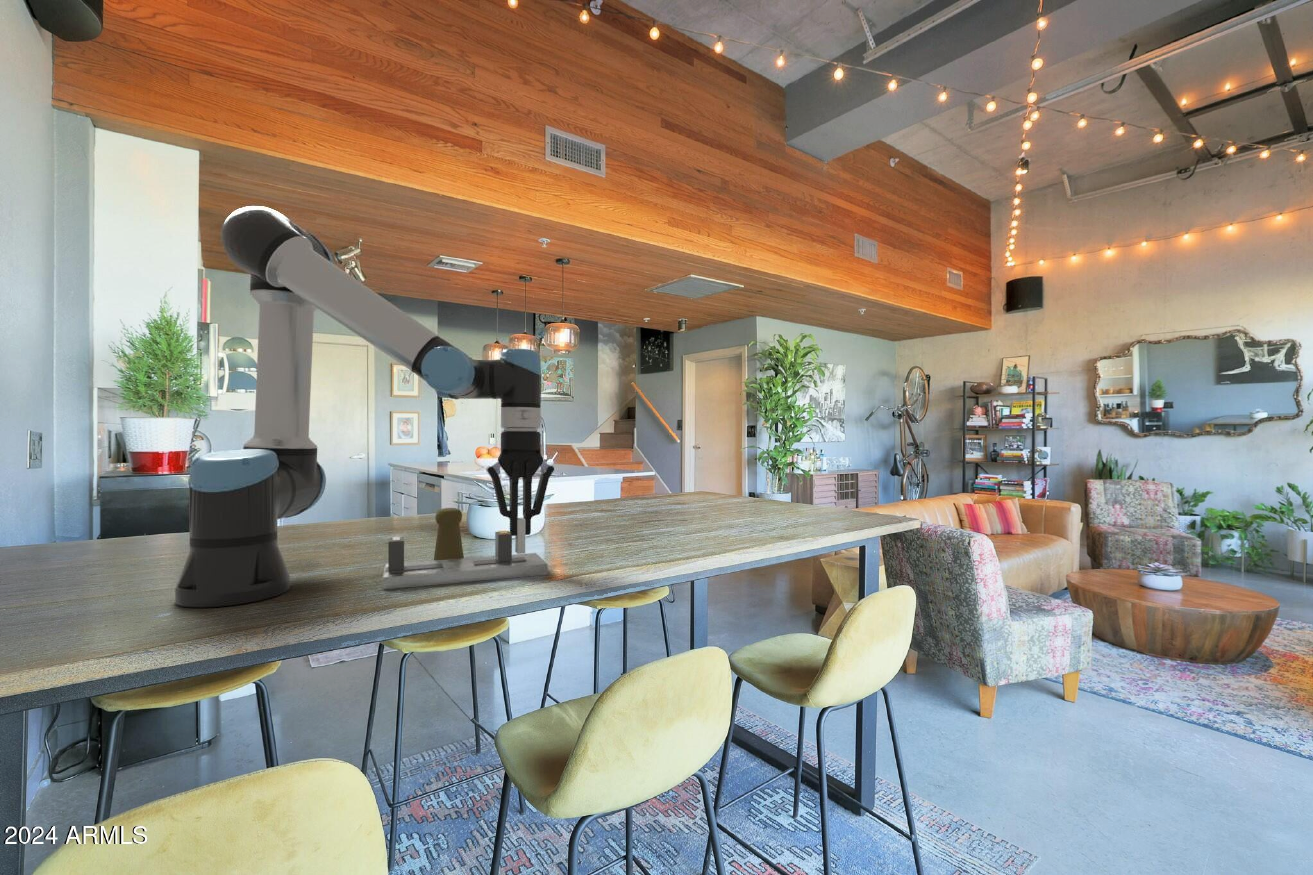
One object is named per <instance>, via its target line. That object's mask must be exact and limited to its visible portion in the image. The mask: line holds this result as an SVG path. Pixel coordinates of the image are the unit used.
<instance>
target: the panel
mask: <svg viewBox="0 0 1313 875" xmlns="http://www.w3.org/2000/svg"><path fill="white" fill-rule="evenodd" d="M548 567H549V565H548V563H547V562H546V561H545V560H544V559H543V558H542V557H541V556H539V554H538V553H537V552H531V553H522V554H517V553H516V554H512V561H502V562H498V561H497V559H496V558H495V555H491V556H479V557H477V556H475V557H464V558H463V559H449V560H436V561H434V560H425V561H411V562H404V569H401V570H389V571H388V563H385V564H384V567H383V568H384V570H383V575H382V590H392V589H394V590H395V589H405V588H413V587H424V586H425V587H427V586H437V585H448V584H459V583H469V582H481V581H492V580H493V581H494V580H501V579H513V578H526V577H537V576H545V575H549V574H548V572H549V571H548V569H549V568H548Z"/></svg>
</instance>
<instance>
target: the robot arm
mask: <svg viewBox="0 0 1313 875" xmlns="http://www.w3.org/2000/svg"><path fill="white" fill-rule="evenodd" d="M220 231H221V233H220V239H221V244H222V245H221V246H222V248H223V251H224V252H225V254H226V255H227V257H228V258H229V259H230V261H231V262H232V263H233V264H234V265H235V266H237V267H238V268H240V269H241V270H242V271H244V272H246V273H248V274H249V275H250V278H249V280H250V284H249V295H250V296H251V297H252V298H253V299H254V300H255V301H256V302H257V303H258V305H259V308H258V310H259V311H258V335H257V341H258V342H257V359H256V360H257V362H256V380H255V381H256V382H255V383H256V384H255V404H254V405H255V406H254V407H255V409H254V431H253V432H254V434H253V436H252V437H251V438H249V439H248V440H247V441H246V442H245V443H244V444H243V447H242V448H243V449H242V448H241V449H239V448H238V449H229V450H218V451H212V452H206V453H203V454H200V455H198V456H196V457H195V458H194V459H192V461H191V462H190V468H189V475H188V476H189V477H188V478H187V484H188V494H189V496H188V500H189V501H188V506H189V508H188V509H189V510H188V511H189V520H188V521H189V552H188V554H187V557H186V560H185V563H184V565H183V568H182V570H181V572H180V574H179V575H180V576H179V578H178V580H177V583H176V585H175V589H174V599H175V600H174V603H175V604H176V605H177V606H180V607H186V608H215V607H218V608H219V607H224V606H225V607H227V606H228V607H229V606H235V605H236V606H237V605H243V604H248V603H252V602H253V603H254V602H257V601H258V602H259V601H262V600H266V599H267V600H268V599H271V598H274V597H277V596H280V595H283V594H284V593H286V592H287V591H289V590H290V588H291V587H290V586H291V581H290V580H291V576H290V572H289V570H288V567H287V565H286V562H285V559H284V557H283V554H282V551H281V550H280V547H279V543H278V531H279V530H278V527H279V526H278V522H279V520H280V519H287V518H291V517H292V518H293V517H296V516H298V515H300V514H302V513H304V512H306V511H308V510H309V509H311V508H313V507H314V506H315V505H316V504H317V503H318V502H319V501H320V499H321V498H322V497H323V495H324V493H325V490H326V484H327V476H326V473H325V470H324V468H323V466H322V465H321V464H320V463H319V462H318V445H317V444H316V443H315V442H314V441H313V440H311V438H310V416H311V415H310V413H311V412H310V411H311V387H312V364H313V344H314V343H313V341H314V338H313V337H314V321H315V320H314V317H315V311H317V309H318V310H320V311H321V312H323V313H324V314H326V315H327V316H328V317H330V318H331V319H333V320H334V321H336V322H338V323H339V324H340V325H342V326H343V327H345V328H346V329H348V330H349V331H351V332H352V333H354V334H355V335H357V336H359V338H361V339H362V340H364V341H366V342H367V343H369V344H370V345H372V347H373V346H374V347H375V348H376V349H378V350H379V351H380V352H383V353H384V354H385V355H386V356H389V357H390V358H391V359H393V360H395V361H396V362H397V363H399V364H400V365H401V366H403V367H405V368H406V369H407V370H409V371H411V372H412V373H414V374H415V375H416V376H418V377H419V378H421V379H422V380H424V381H425V383H427V385H428V386H429V387H430V388H432V389H433V390H434V391H435V392H436V395H437V396H438V397H439V398H442V399H451V400H463V399H464V400H469V399H470V400H471V399H472V400H474V399H475V400H479V399H480V400H481V399H482V400H484V399H485V400H486V399H488V400H489V399H491V400H497V399H498V400H500V413H501V414H500V428H502V429H503V431H501V433H500V453H499V456H498V457H497V461H496V462H495V463H494V464H492V465H489V466H487V467H485V468H486V469H485V470H486V473H487V474H488V476H490V478H491V482H492V485H493V490H494V493H495V498H496V502H497V505H498V510H499V513H500V515H502V516H503V517H505V518H508V519H509V532H510V533H511V534H512V537H513V536H514V552H515V553H516V554H526V536H530V535H531V531H532V529H531V527H532V518H533V517H535V516H538V515H540V514H541V512H542V509H543V504H544V500H545V496H546V493H547V492H546V491H547V488H548V483H549V481H550V480H549V479H550V477H551V476H552V474H553V472H554V471H555V467H554V466H553V465H550V464H548V463H546V462H545V461H544V456H543V455H542V453H541V452H542V451H541V448H542V445H541V442H542V440H541V439H542V438H541V437H542V436H541V435H542V434H541V432H540V431H539V430H538V429H540V428H541V427H542V426H541V423H542V422H541V420H542V419H541V416H542V415H541V412H542V411H541V410H542V408H541V407H542V406H541V405H542V403H541V402H542V397H541V396H542V368H541V367H542V363H541V355H540V354H539V353H538V352H537V351H536V350H533V349H529V348H506V349H503V350H502V351H501V354H500V355H501V356H500V357H499V358H500V359H475V358H474V359H473V358H472V357H470V355H468V354H466V353H465V352H464V351H462V350H460V349H459V348H457V347H456V346H454V345H453V344H451V343H449V342H448V341H446V340H445V339H443V338H442V337H440V336H439V335H438V334H436V333H435V332H433V331H432V330H431V329H430V328H428V327H426V326H425V325H424V324H422V323H420V322H418V320H416V319H415V318H413V317H412V316H410V315H409V314H408V313H406V312H404V311H403V310H401V309H400V308H398V307H397V306H396V305H394V304H393V303H392V302H390V301H388V300H386V298H384V297H383V296H381V295H379V294H378V293H377V292H375V291H374V290H372V289H371V288H370V287H369V286H366V285H365V284H363V282H361V281H359V280H357V279H356V278H355V277H354V276H352V275H350V274H349V273H348V272H346V271H345V270H343V269H341V268H340V267H338V266H337V265H336V264H335V262H334V259H333V256H332V254H331V253H330V251H329V250H328V248H327V247H326V246H325V245H324V243H323V242H321V241H320V239H319V238H318V237H316V235H314V234H312V233H310V232H308V231H307V230H305V229H303V228H302V227H300V226H299V225H298V224H296V223H294V222H293V221H292V220H291V219H289V218H288V217H286V216H285V215H284V214H282V213H280V212H279V211H276V210H274V209H272V208H269V207H266V206H259V205H258V206H257V205H256V206H255V205H251V206H244V207H242V208H238V209H236V210H234V211H232V213H231V214H230V215H229V216H228V217H226V218H225V221H224V222H223V224H222V228H221V230H220ZM501 468H502V470H503V471H504V473H505V474H506V476H508V477H509V478H508V480H509V501H508V502H509V507H508V505H507V502H506V498H505V494H504V490H503V486H502V482H501V477H500V476H499V475H500V474H501ZM539 469H540V470H539ZM538 470H539V472H540V473H541V474H540V477H539V480H538V484H537V488H536V492H535V496H534V501H533V504H532V492H533V491H532V484H533V477H534V476H535V474H536V473H537V471H538ZM521 478H522V517H519V481H520V480H519V479H521ZM508 508H509V509H508Z"/></svg>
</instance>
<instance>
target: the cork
mask: <svg viewBox="0 0 1313 875" xmlns="http://www.w3.org/2000/svg"><path fill="white" fill-rule="evenodd" d="M462 520H463V513H462V510H461V509H459V508H457V507H455V508H454V507H445V508H440V509H438V510H437V511H436V512H435V523H436V524H437V525H438V526H437V533H436V540H435V547H434V553H433V554H434V556H433V561H436V560H449V559H463V558H465V557H464V556H465V555H464V549H463V542H462V533H461V526H460V524H461V522H462Z"/></svg>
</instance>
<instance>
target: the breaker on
mask: <svg viewBox="0 0 1313 875" xmlns="http://www.w3.org/2000/svg"><path fill="white" fill-rule="evenodd" d="M387 548H388V552H387V554H388V559H387V560H388V562H387V564H388V571H389V570H401V569H404V563H405V537H403V536H402V537H401V536H393V537H389V538H388V546H387Z"/></svg>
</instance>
